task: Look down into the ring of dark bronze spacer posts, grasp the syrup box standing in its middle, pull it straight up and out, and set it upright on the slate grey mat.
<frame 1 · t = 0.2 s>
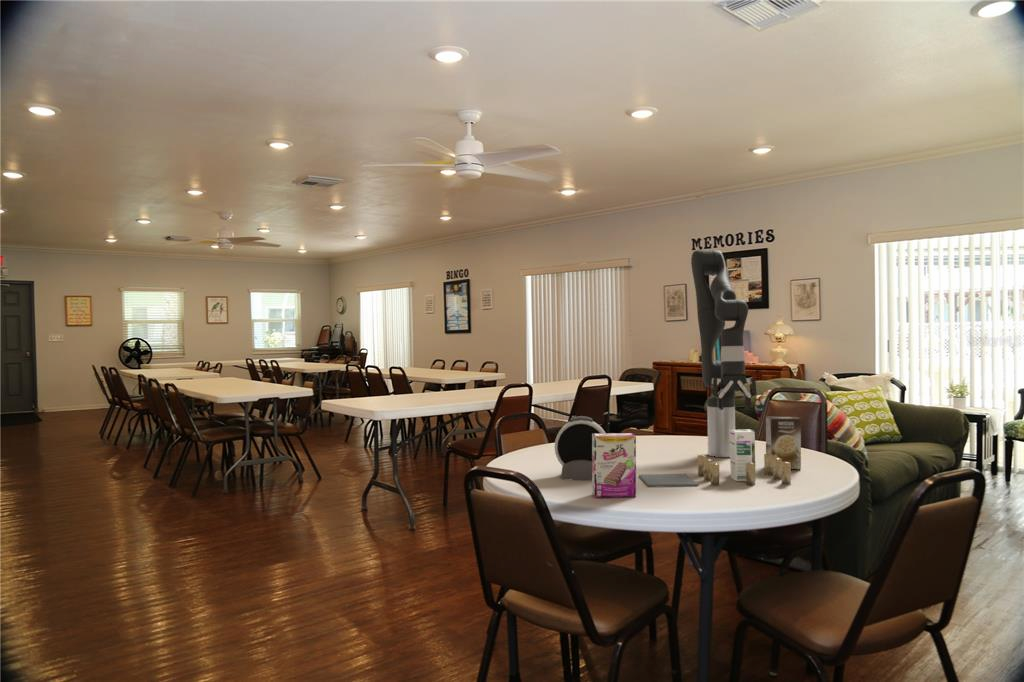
hand: (734, 409, 222), 18 cm above the table, tool pointing down, fingers open, 8 cm apart
coffee box: (783, 469, 212), on the table
alarm clock: (582, 477, 204), on the table
candy bar box: (614, 496, 179), on the table
mat: (667, 481, 196), on the table
spacer field: (742, 479, 196), on the table
syrup box: (742, 480, 196), on the table
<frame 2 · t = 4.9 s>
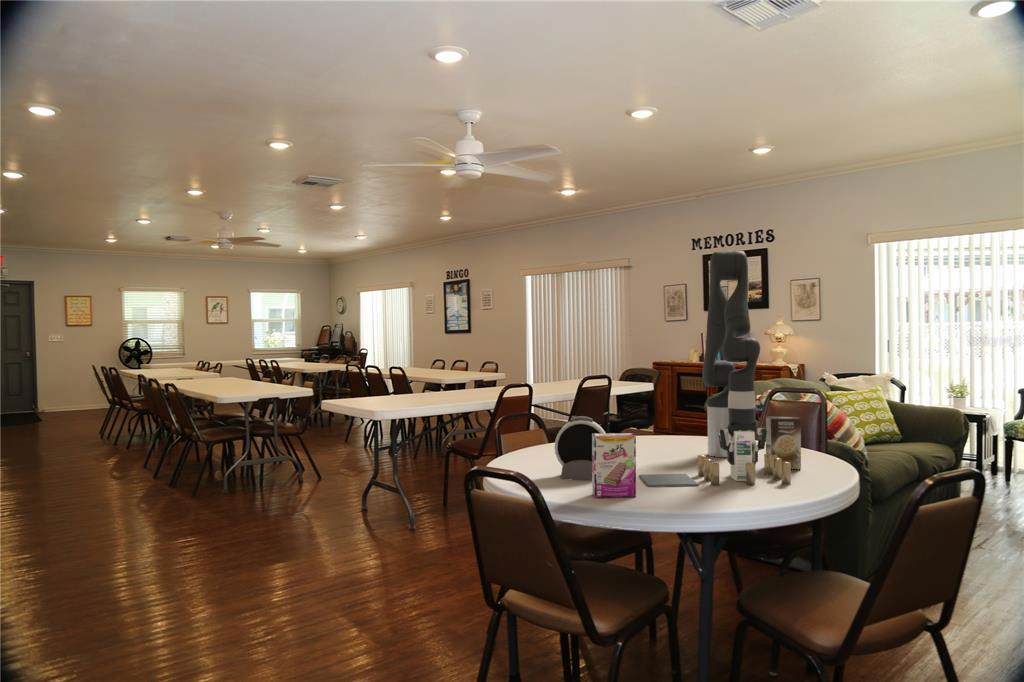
hand: (742, 463, 196), 5 cm above the table, tool pointing down, fingers closed on syrup box, 5 cm apart
syrup box: (742, 480, 196), on the table, touching gripper
everything else where it was.
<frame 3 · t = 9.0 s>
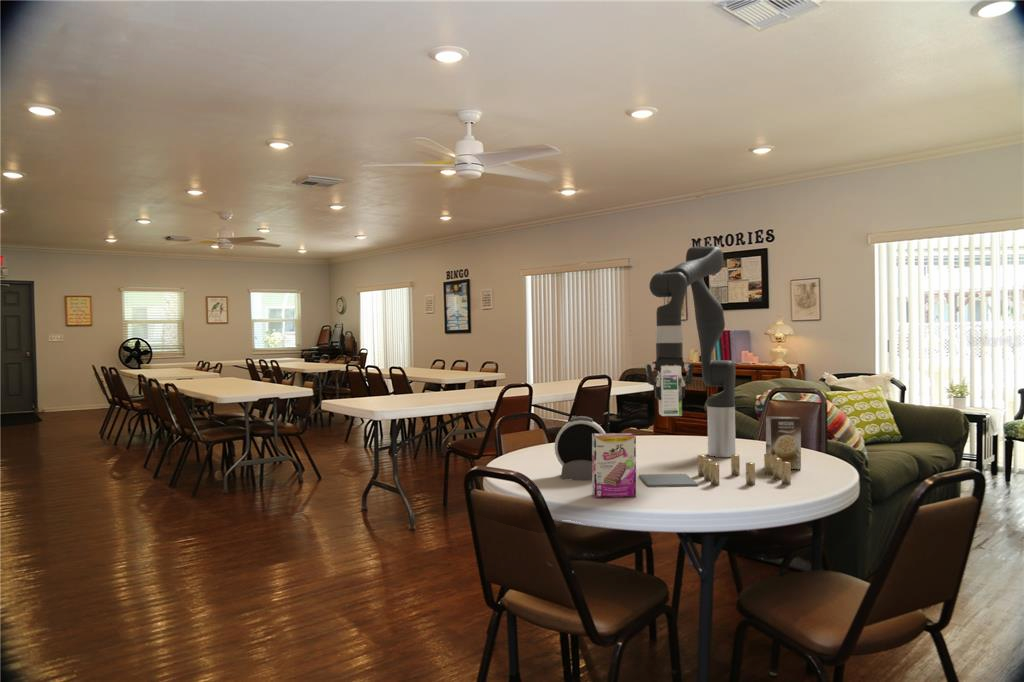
hand: (669, 399, 196), 24 cm above the table, tool pointing down, fingers closed on syrup box, 5 cm apart
syrup box: (670, 415, 196), point 19 cm above the table, touching gripper
everything else where it was.
when the fingers open (6 cm above the table, at t = 13.3 s): syrup box drops 1 cm, resting on mat.
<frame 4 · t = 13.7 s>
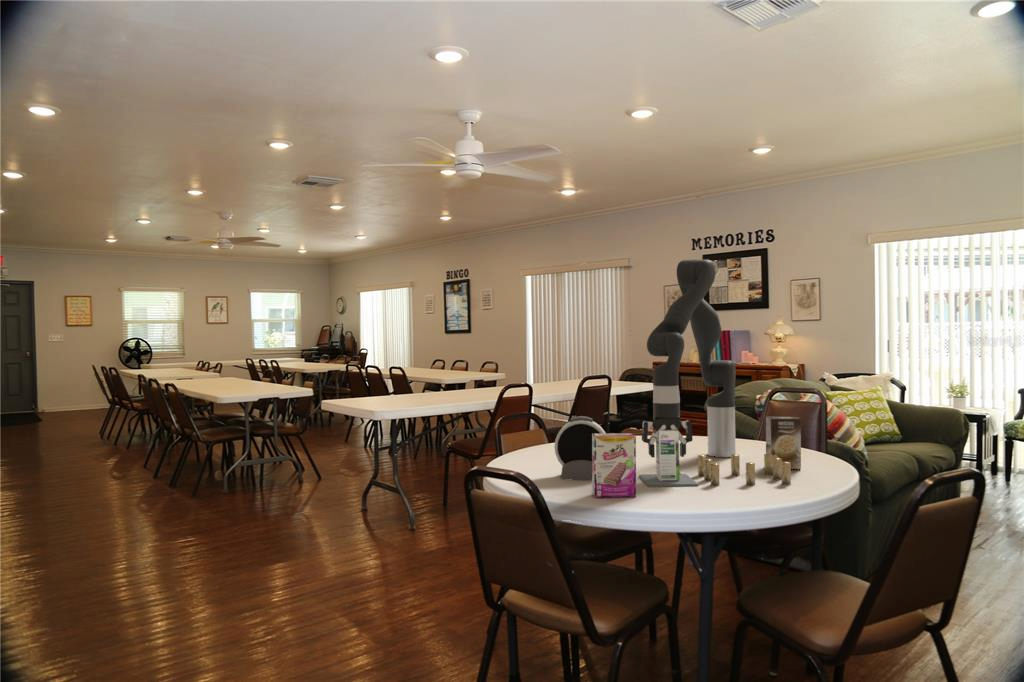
hand: (667, 456, 196), 7 cm above the table, tool pointing down, fingers open, 8 cm apart
syrup box: (667, 479, 196), resting on mat
everything else where it was.
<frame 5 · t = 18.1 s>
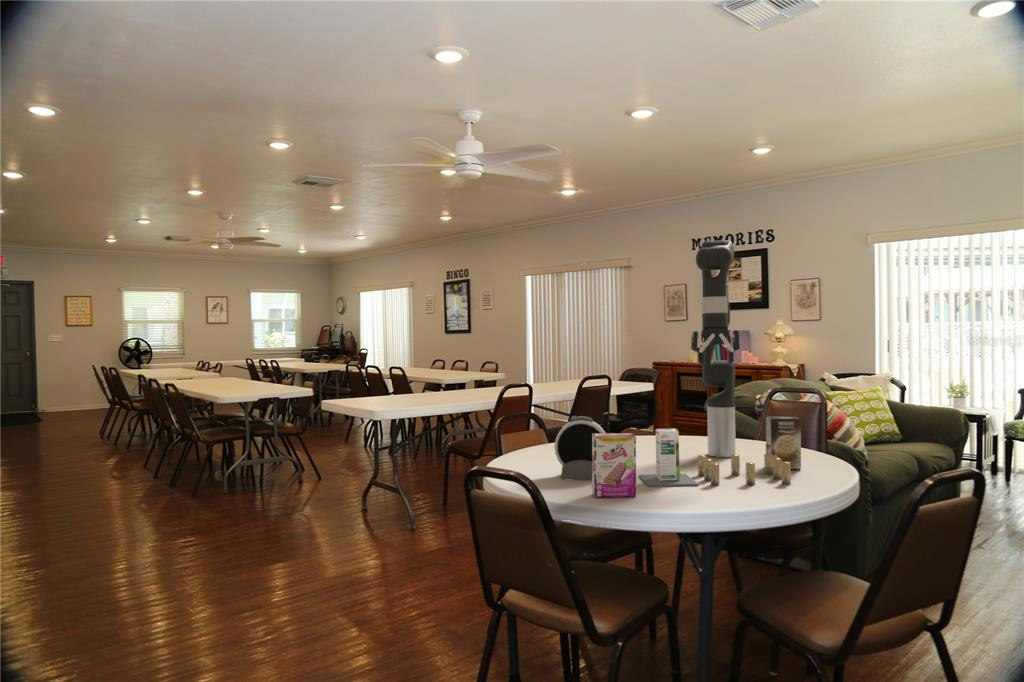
hand: (715, 364, 208), 33 cm above the table, tool pointing down, fingers open, 8 cm apart
nothing on the table moved.
at the end: syrup box inside the target area on the mat (0.1 cm from its centre), point 0.4 cm above the mat's base; syrup box tilted 0°; the gripper is holding nothing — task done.
